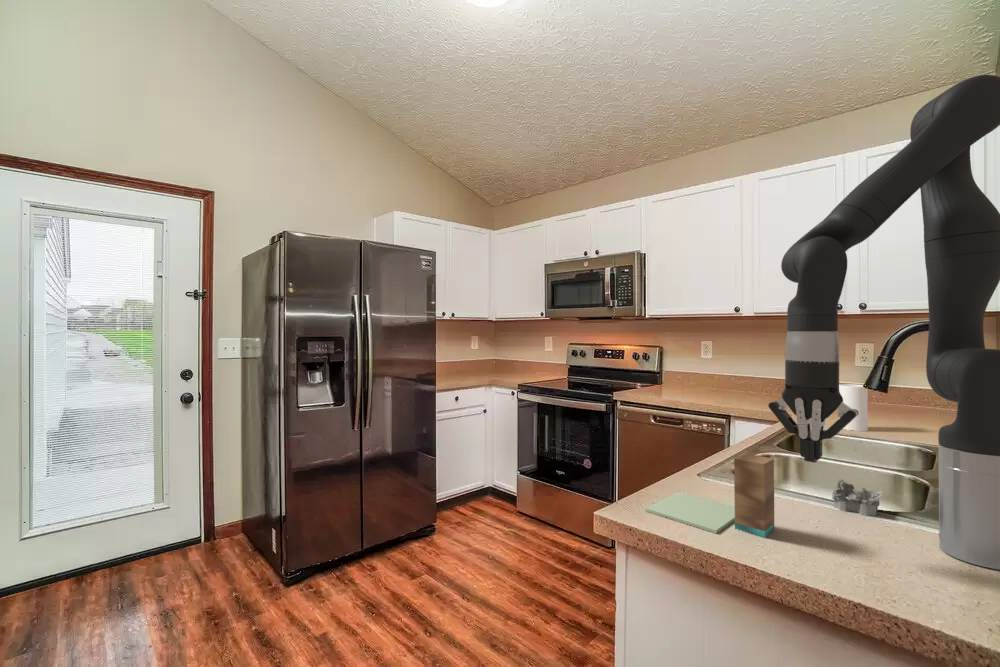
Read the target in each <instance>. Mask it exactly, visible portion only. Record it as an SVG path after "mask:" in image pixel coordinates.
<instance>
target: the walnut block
mask: <svg viewBox="0 0 1000 667" xmlns="http://www.w3.org/2000/svg"><path fill="white" fill-rule="evenodd" d="M733 463H734V464H733V467H734V468H733V470H734V471H733V472H734V474H733V475H734V476H733V479H734V482H733V484H734V489H733V490H734V506H735V520H734V530H736V529H738V530H737V531H740V530H742V531H741V532H743V531H745V532H744V533H746V532H748V533H747V534H750V535H753V534H754V535H753V536H757V537H760V538H763V539H765V538H767V537H768V536H769V535H770V534H771V533H772V532H774V531H775V459H774V458H772V457H766V456H761V455H757V454H756V455H755V454H750V453H743V454H740V455H738V456H737V457H734V458H733Z"/></svg>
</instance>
